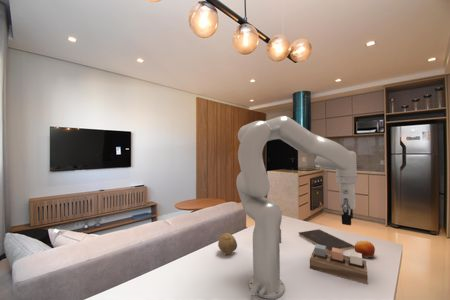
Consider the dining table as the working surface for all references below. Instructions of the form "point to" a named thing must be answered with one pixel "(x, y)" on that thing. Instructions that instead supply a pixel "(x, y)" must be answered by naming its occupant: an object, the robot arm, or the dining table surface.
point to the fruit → (365, 248)
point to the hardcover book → (325, 240)
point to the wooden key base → (339, 267)
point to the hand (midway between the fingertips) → (347, 221)
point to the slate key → (320, 250)
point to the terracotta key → (337, 254)
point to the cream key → (356, 258)
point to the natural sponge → (227, 243)
